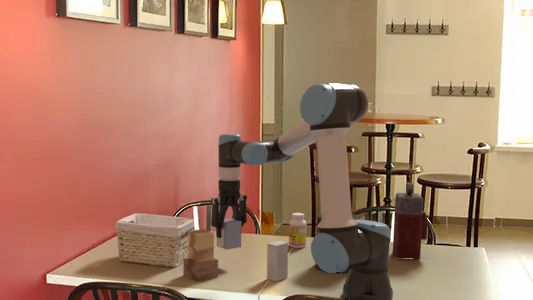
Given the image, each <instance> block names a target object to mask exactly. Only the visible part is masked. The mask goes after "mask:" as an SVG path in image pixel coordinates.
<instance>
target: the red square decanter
mask: <svg viewBox="0 0 533 300" xmlns="http://www.w3.org/2000/svg"><path fill="white" fill-rule="evenodd" d="M414 185H415V184H414V182H406V184H405V192H396V193H395V199H394V201H395V202H394V221H393V239H392V241H393V242H392V254H394V255H393V257H394V256H395V257H396V258H413V259H420V260H421V254H422V253H421V251H422V250H421V248H422V240H425V241H426V240H427V239H428V238H427V237H428V222H429V221H428V217H427V213H426V212H425V210H424V197H422V195H420V194H419V193H417V192H416V193H414V190H415V189H414ZM395 257H394V258H395Z"/></svg>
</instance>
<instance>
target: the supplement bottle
mask: <svg viewBox="0 0 533 300" xmlns="http://www.w3.org/2000/svg"><path fill="white" fill-rule="evenodd" d="M304 218H305V213H302V212H293V213H292V219H291V220H290V221H289V225H288V227H289V228H288V229H289V230H288V231H289V234H288V247H289V248H290V247H291V248H294V249H302V248H305V247H306V246H307V224H308V223H307V221H306V220H305V219H304Z"/></svg>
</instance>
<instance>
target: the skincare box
mask: <svg viewBox="0 0 533 300" xmlns="http://www.w3.org/2000/svg"><path fill="white" fill-rule="evenodd" d="M266 247H267V253H266V259H267V260H266V280H269V281H273V282H279V281H281V280H284V279H287V278H288V274H289V273H288V272H289V270H288V269H289V265H288V264H289V241H282V240H275V241H272V242H269V243H267V246H266Z"/></svg>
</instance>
